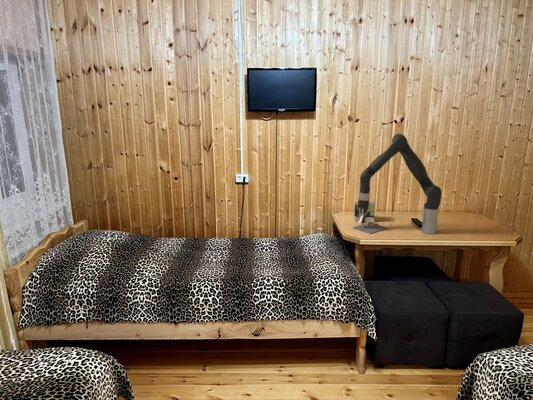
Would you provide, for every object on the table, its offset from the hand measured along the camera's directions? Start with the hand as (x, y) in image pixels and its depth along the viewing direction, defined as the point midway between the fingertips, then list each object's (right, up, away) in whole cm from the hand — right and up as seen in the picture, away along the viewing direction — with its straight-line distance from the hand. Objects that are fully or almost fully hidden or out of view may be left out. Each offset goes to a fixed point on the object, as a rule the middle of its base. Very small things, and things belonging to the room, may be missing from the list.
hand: (361, 222), depth 272 cm
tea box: (+7, 0, +22) cm, 23 cm away
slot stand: (+9, -2, +8) cm, 12 cm away
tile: (+5, 0, +4) cm, 7 cm away
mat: (+7, -4, +2) cm, 8 cm away
